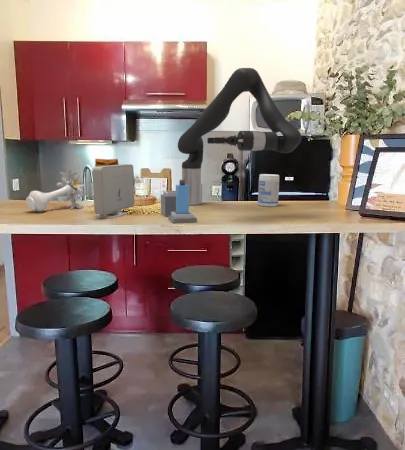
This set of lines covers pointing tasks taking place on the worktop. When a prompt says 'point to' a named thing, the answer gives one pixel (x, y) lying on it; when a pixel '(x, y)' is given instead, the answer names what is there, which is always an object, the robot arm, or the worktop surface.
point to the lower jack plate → (182, 218)
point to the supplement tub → (268, 190)
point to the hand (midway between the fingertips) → (210, 140)
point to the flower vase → (57, 193)
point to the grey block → (168, 202)
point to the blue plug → (182, 198)
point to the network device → (113, 189)
